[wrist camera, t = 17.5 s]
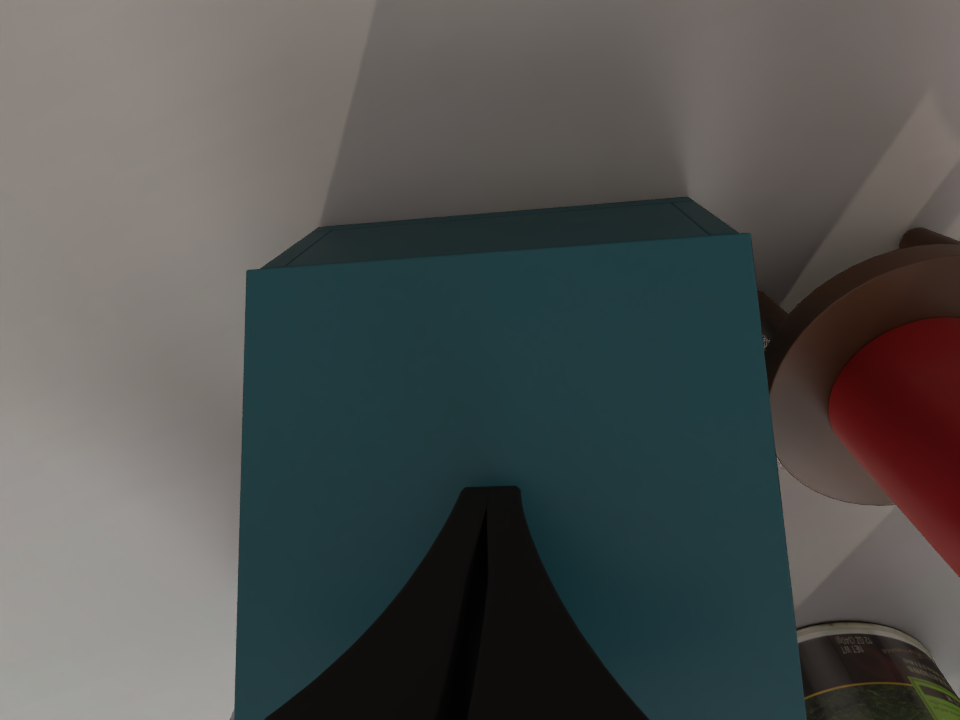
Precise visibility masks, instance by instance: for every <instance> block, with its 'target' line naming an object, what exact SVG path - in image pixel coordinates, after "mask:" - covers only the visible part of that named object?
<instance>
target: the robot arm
mask: <svg viewBox="0 0 960 720" xmlns="http://www.w3.org/2000/svg"><path fill="white" fill-rule="evenodd" d="M234 712H235V709H234V711H233V713H232V715H231V718H230V720H234ZM265 720H650V719H649V718H648V717H647V716H646V715H645V714H644V713H643V712H642V710H641V709H640V708H639V707H638V706H637V705H636V704H635V703H634V701H633V700H632V699H631V698H630V697H629V695H628V694H627V693H626V692H625V691H624V690H623V688H622V687H621V686H620V685H619V683H618V682H617V681H616V680H615V678H614V677H613V676H612V675H611V673H610V672H609V671H608V669H607V668H606V667H605V666H604V664H603V663H602V661H601V660H600V659H599V657H598V656H597V654H596V653H595V652H594V650H593V649H592V647H591V646H590V645H589V643H588V642H587V640H586V639H585V637H584V636H583V635H582V633H581V632H580V630H579V629H578V627H577V625H576V624H575V622H574V621H573V619H572V617H571V616H570V614H569V613H568V611H567V609H566V607H565V606H564V604H563V602H562V600H561V599H560V597H559V595H558V593H557V591H556V590H555V588H554V586H553V584H552V582H551V580H550V578H549V576H548V574H547V572H546V570H545V567H544V565H543V563H542V561H541V559H540V556H539V554H538V552H537V549H536V546H535V544H534V541H533V539H532V536H531V534H530V531H529V528H528V525H527V521H526V518H525V515H524V510H523V506H522V497H521V489H520V488H519V487H517V486H516V485H515V486H483V487H465V488H464V489H463V490H461V492H460V494H459V497H458V499H457V501H456V503H455V505H454V507H453V509H452V511H451V513H450V515H449V517H448V519H447V520H446V522H445V524H444V526H443V528H442V529H441V531H440V533H439V534H438V536H437V538H436V539H435V541H434V543H433V544H432V546H431V548H430V549H429V551H428V552H427V554H426V555H425V557H424V558H423V560H422V561H421V563H420V564H419V565H418V567H417V568H416V570H415V571H414V573H413V574H412V576H411V577H410V578H409V580H408V581H407V583H406V584H405V585H404V586H403V588H402V589H401V590H400V592H399V593H398V594H397V595H396V597H395V598H394V599H393V600H392V602H391V603H390V604H389V605H388V606H387V608H386V609H385V610H384V611H383V612H382V614H381V615H380V616H379V617H378V618H377V619H376V620H375V621H374V622H373V623H372V624H371V626H370V627H369V628H368V629H367V630H366V631H365V632H364V633H363V634H362V635H361V636H360V637H359V638H358V639H357V640H356V641H355V643H354V644H352V645H351V646H350V647H349V648H348V649H347V650H346V651H345V652H344V653H343V654H342V655H341V656H340V657H339V658H338V659H337V660H335V661H334V662H333V663H332V664H331V665H330V666H329V667H328V668H327V669H326V670H325V671H323V672H322V673H321V674H320V675H319V676H318V677H317V678H316V679H315V680H313V681H312V682H311V683H310V684H309V685H307V686H306V687H305V688H304V689H302V690H301V691H300V692H299V693H297V694H296V695H295V696H293V697H292V698H291V699H290V700H288V701H287V702H286V703H284V704H283V705H282V706H281V707H279V708H278V709H277V710H276V711H274V712H273V713H271V714H270V715H269V716H267V717H266V718H265Z"/></svg>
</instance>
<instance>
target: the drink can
mask: <svg viewBox="0 0 960 720" xmlns="http://www.w3.org/2000/svg"><path fill="white" fill-rule="evenodd" d="M828 407H829V419H830V424H831V426H832V429H833V431H834V433H835V435H836V436H837V438H838V439H839V440H840V442H841V443H842V444H843V445H844V446H845V447H846V448H847V450H848V451H849V452H850V453H851V454H852V455H853V456H854V457H855V459H856V460H857V461H858V462H859V463H860V464H861V465H862V467H863V468H864V469H865V470H866V471H867V472H868V473H869V475H870V476H871V477H872V478H873V479H874V480H875V481H876V483H877V484H878V485H879V486H880V487H881V488H882V489H883V491H884V492H885V493H886V494H887V495H888V496H889V497H890V499H891V500H892V501H893V502H894V503H895V504H896V505H897V507H898V508H899V509H900V510H901V511H902V512H903V513H904V515H905V516H906V517H907V518H908V519H909V520H910V521H911V523H912V524H913V525H914V526H915V527H916V528H917V529H918V531H919V532H920V533H921V534H922V535H923V536H924V537H925V539H926V540H927V541H928V542H929V543H930V544H931V545H932V547H933V548H934V549H935V550H936V551H937V552H938V553H939V555H940V556H941V557H942V558H943V559H944V560H945V561H946V563H947V564H948V565H949V566H950V567H951V568H952V569H953V571H954V572H955V573H956V574H957V575H958V576H959V577H960V318H953V317H939V318H930V319H923V320H919V321H914V322H911V323H908V324H905V325H902V326H899V327H897V328H895V329H892V330H890V331H888V332H886V333H884V334H882V335H881V336H879V337H877V338H876V339H874V340H873V341H871V342H870V343H868V344H867V345H866V346H864V347H863V348H862V349H861V350H860V351H858V352H857V353H856V354H855V355H854V356H853V357H852V358H851V359H850V360H849V362H848V363H847V364H846V365H845V367H844V368H843V369H842V371H841V372H840V374H839V376H838V377H837V379H836V381H835V383H834V386H833V388H832V391H831V395H830V399H829V406H828Z"/></svg>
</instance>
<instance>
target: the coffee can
mask: <svg viewBox="0 0 960 720" xmlns="http://www.w3.org/2000/svg"><path fill="white" fill-rule="evenodd" d="M796 631H797V640H798V649H799V657H800V666H801V675H802V683H803V692H804V701H805V709H806V718H807V720H960V699H959V698H958V696H957V695H956V694H955V692H954V691H953V689H952V688H951V686H950V685H949V683H948V682H947V680H946V679H945V677H944V676H943V674H942V673H941V672H940V670H939V669H938V667H937V666H936V664H935V662H934V660H933V658H932V656H931V655H930V653H929V652H928V651H927V649H926V648H925V647H924V646H923V645H922V644H921V643H920V642H919V641H917V640H916V639H915V638H913V637H911V636H909V635H907V634H905V633H903V632H901V631H898V630H896V629H893V628H890V627H887V626H882V625H877V624H872V623H863V622H835V623H828V624H821V625H814V626H809V627H805V628H801V629H798V630H796Z"/></svg>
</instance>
